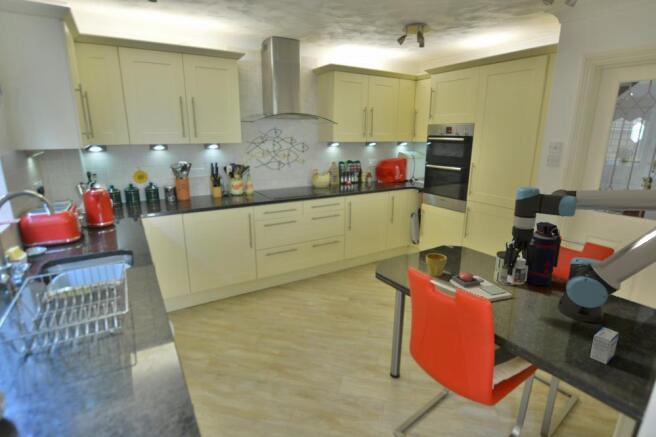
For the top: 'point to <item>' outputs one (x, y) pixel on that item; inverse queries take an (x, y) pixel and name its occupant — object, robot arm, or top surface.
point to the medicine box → (604, 345)
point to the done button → (466, 277)
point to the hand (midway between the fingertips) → (516, 281)
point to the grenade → (544, 254)
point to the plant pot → (435, 264)
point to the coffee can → (501, 269)
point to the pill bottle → (520, 271)
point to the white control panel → (481, 288)
